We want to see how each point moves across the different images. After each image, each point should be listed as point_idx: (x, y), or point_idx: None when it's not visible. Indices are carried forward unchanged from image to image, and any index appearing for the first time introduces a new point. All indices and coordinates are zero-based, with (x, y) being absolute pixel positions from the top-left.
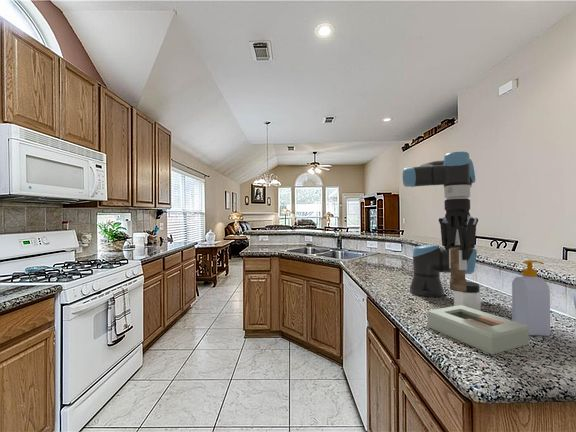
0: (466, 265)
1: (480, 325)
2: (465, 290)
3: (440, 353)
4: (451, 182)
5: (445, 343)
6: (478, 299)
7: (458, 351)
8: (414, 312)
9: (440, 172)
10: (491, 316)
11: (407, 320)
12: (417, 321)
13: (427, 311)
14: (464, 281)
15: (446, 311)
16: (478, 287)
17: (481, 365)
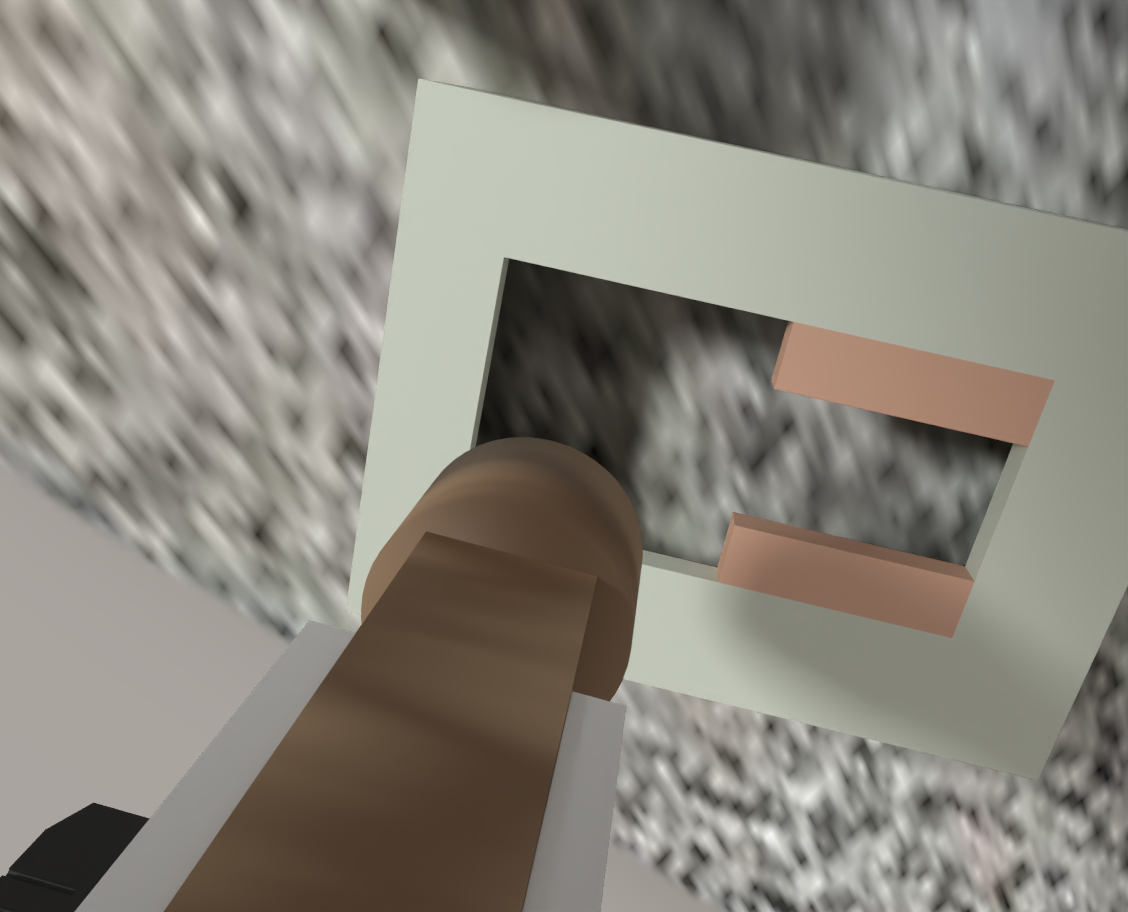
0: (613, 781)
1: (890, 638)
2: (641, 557)
3: (734, 894)
4: None
5: (674, 737)
6: None
7: (799, 792)
8: (62, 274)
9: None
10: (870, 260)
11: (201, 535)
12: (262, 489)
13: (349, 608)
14: (629, 652)
15: None
16: None
17: (985, 872)
